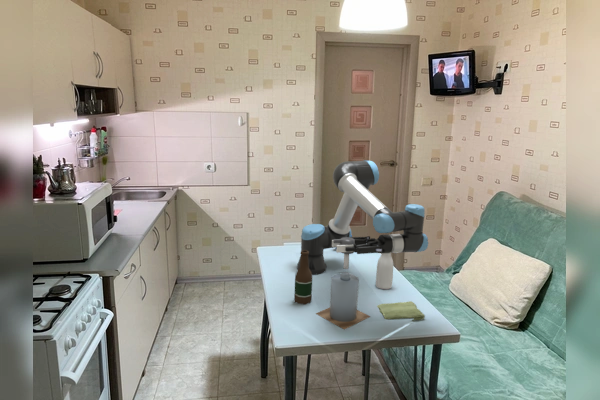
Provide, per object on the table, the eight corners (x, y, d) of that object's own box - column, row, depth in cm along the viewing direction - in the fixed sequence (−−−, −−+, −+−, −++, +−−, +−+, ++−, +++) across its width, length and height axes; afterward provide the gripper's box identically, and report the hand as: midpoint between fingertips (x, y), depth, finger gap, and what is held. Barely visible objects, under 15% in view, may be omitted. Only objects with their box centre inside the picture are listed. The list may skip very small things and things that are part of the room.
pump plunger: (330, 268, 168) (332, 239, 165) (344, 263, 173) (346, 235, 170) (342, 273, 164) (344, 243, 161) (355, 268, 169) (357, 239, 166)
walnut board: (315, 316, 174) (315, 313, 174) (341, 304, 185) (341, 302, 185) (344, 332, 163) (344, 329, 163) (370, 319, 174) (370, 316, 173)
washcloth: (374, 308, 184) (375, 301, 183) (412, 306, 186) (413, 299, 186) (385, 324, 171) (385, 316, 170) (426, 321, 174) (427, 314, 173)
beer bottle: (305, 308, 180) (307, 255, 175) (290, 303, 184) (292, 251, 179) (314, 301, 187) (317, 250, 181) (300, 297, 191) (301, 246, 185)
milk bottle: (391, 290, 200) (395, 250, 196) (375, 288, 202) (378, 249, 197) (391, 283, 208) (395, 245, 203) (375, 282, 209) (378, 243, 204)
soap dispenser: (324, 313, 174) (326, 273, 170) (342, 305, 181) (344, 266, 177) (343, 324, 166) (346, 282, 162) (362, 316, 173) (364, 275, 169)
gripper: (398, 261, 162) (341, 264, 158) (380, 244, 180) (327, 247, 175) (400, 242, 161) (342, 244, 156) (381, 228, 178) (328, 229, 174)
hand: (334, 246), depth 166 cm, fingers closed on pump plunger, 6 cm apart
